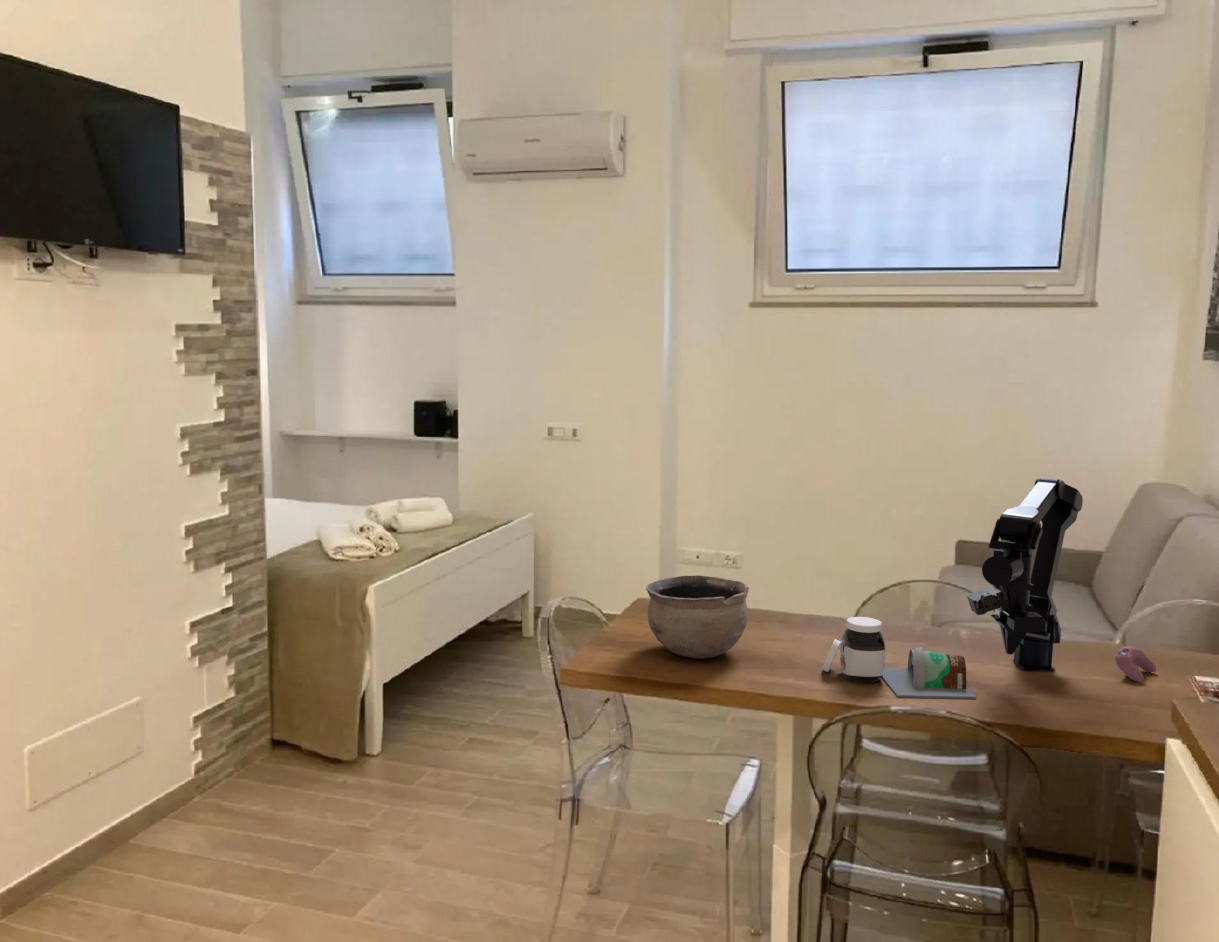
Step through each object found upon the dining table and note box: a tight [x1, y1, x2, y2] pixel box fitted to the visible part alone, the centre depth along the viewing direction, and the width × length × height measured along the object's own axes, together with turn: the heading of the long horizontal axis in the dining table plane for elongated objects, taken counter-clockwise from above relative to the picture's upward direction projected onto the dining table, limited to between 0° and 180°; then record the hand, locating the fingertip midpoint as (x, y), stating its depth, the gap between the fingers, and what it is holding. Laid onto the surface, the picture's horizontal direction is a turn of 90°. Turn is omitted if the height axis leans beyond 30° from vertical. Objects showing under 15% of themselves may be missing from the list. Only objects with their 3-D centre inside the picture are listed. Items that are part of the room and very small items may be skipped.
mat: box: [881, 667, 977, 700], centre depth 194 cm, size 15×16×1 cm
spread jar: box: [821, 616, 886, 684], centre depth 197 cm, size 12×11×12 cm
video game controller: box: [1114, 645, 1157, 683], centre depth 201 cm, size 10×5×7 cm, turn 135°
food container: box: [907, 646, 967, 689], centre depth 195 cm, size 12×6×10 cm
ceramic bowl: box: [645, 575, 750, 659], centre depth 210 cm, size 22×22×15 cm
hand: (1009, 653), depth 193 cm, fingers closed
